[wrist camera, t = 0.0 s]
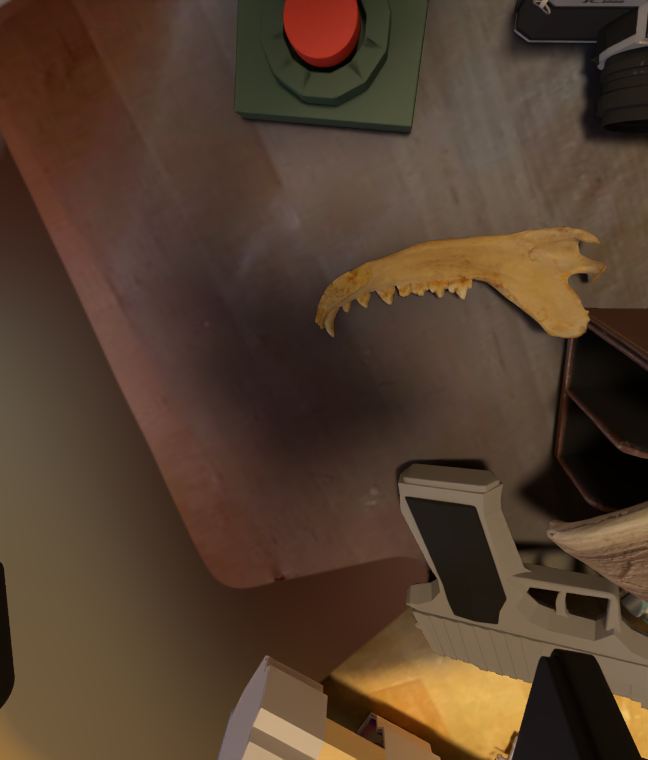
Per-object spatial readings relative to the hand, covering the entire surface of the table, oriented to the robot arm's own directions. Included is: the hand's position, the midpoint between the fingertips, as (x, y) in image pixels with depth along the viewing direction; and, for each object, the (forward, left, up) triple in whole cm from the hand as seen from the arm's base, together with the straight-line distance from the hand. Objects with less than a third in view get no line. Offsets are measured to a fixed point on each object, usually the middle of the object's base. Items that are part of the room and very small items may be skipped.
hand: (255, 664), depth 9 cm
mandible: (-6, +3, -29) cm, 30 cm away
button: (-16, -3, -24) cm, 29 cm away
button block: (-16, -3, -28) cm, 32 cm away
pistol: (+6, +15, -22) cm, 27 cm away
